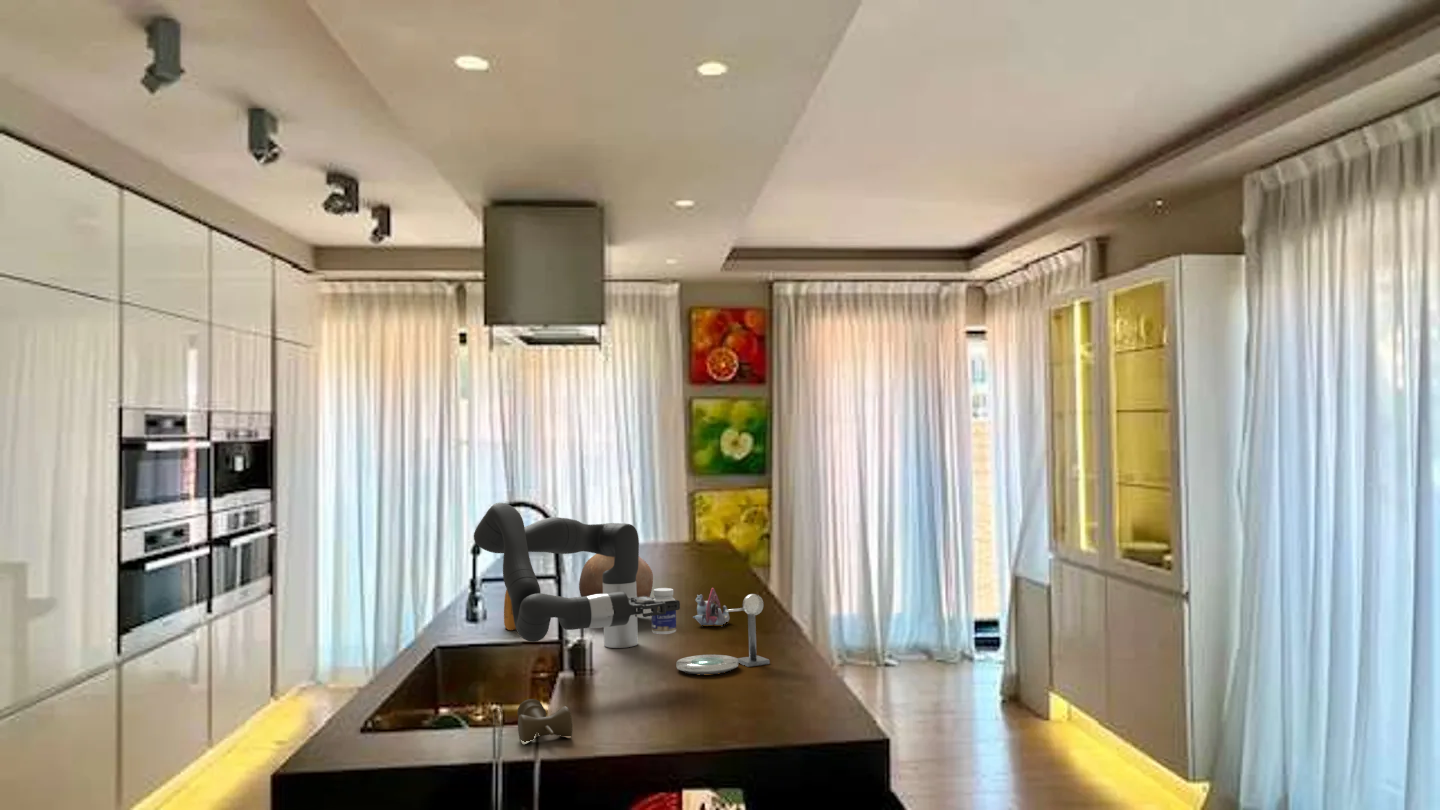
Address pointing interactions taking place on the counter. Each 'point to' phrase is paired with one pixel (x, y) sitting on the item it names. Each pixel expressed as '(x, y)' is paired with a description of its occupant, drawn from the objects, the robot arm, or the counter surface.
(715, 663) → the dish
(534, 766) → the counter surface
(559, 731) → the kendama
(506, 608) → the coffee package
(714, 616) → the grey and red figurine
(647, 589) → the pottery
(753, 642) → the dial stand
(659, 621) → the pill bottle
